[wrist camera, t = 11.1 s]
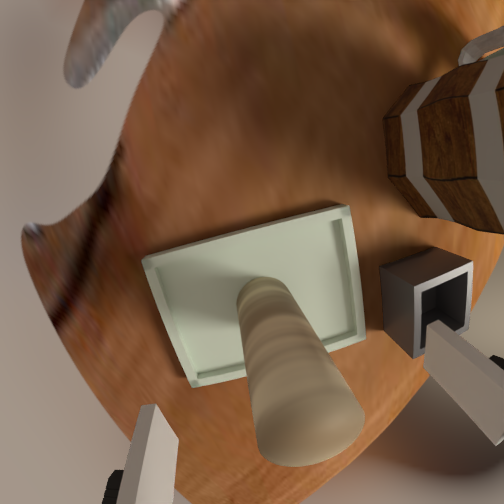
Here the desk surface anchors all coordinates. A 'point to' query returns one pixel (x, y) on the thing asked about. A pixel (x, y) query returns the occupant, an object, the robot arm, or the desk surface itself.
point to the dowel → (292, 380)
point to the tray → (251, 267)
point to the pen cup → (425, 296)
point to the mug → (453, 141)
